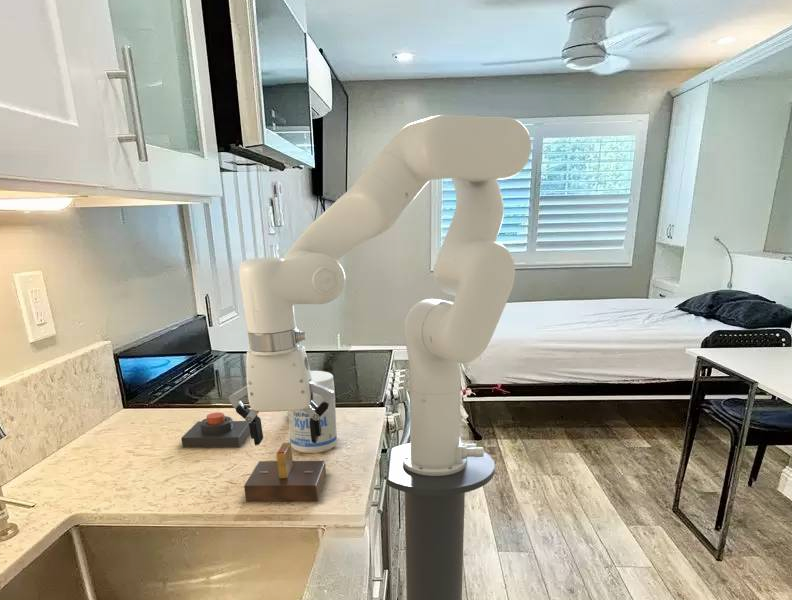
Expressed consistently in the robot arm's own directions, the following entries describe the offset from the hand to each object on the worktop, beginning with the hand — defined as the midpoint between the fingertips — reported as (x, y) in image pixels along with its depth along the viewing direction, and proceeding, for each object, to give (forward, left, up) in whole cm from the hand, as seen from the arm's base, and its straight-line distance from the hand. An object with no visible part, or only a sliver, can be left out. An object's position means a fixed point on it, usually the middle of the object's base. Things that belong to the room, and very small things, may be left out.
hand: (287, 441), depth 96 cm
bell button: (+21, -24, -5) cm, 32 cm away
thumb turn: (+1, 0, -6) cm, 6 cm away
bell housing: (+21, -24, -9) cm, 33 cm away
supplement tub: (-1, -19, -9) cm, 21 cm away
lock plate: (+1, 0, -9) cm, 9 cm away
